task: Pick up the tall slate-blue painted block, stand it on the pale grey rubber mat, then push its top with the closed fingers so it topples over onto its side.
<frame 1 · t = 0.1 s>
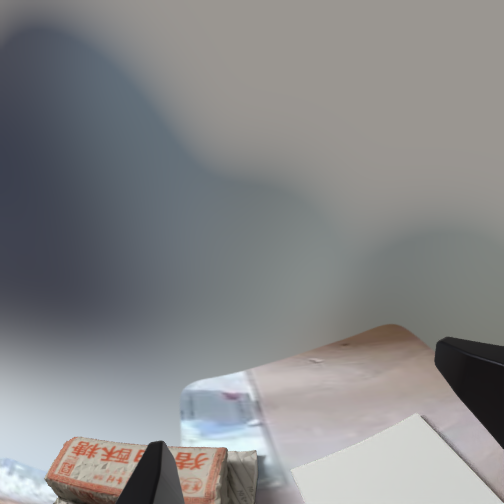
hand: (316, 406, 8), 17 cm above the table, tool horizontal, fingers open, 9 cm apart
packaged product: (154, 498, 21), on the table
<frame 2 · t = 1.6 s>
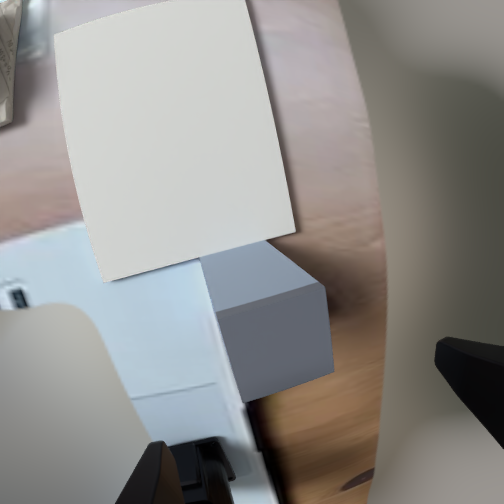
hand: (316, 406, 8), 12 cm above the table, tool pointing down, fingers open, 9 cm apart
mat: (167, 123, 17), on the table
block: (237, 276, 20), on the table
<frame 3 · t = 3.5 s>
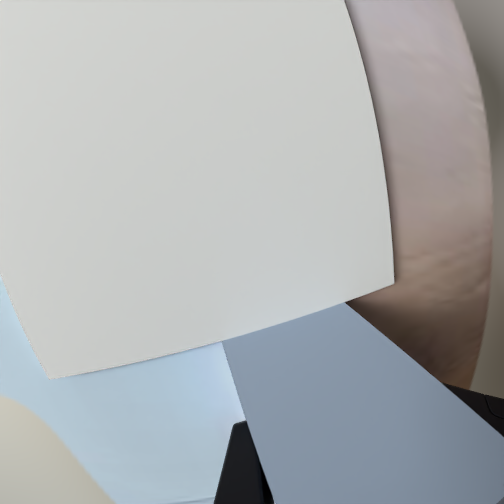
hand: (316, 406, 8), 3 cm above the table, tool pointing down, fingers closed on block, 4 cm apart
mat: (155, 69, 8), on the table
block: (289, 362, 11), on the table, touching gripper, mat
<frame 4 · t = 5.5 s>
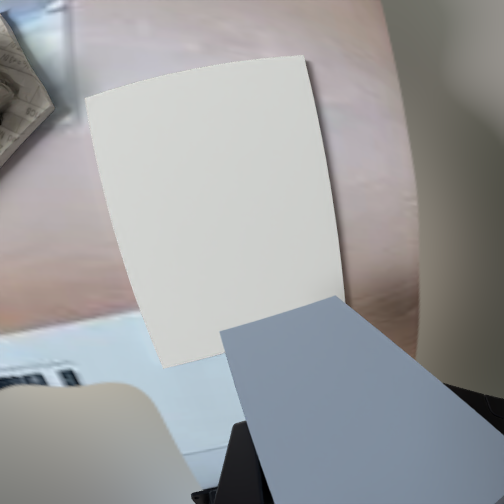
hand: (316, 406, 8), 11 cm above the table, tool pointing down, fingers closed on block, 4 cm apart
mat: (226, 213, 18), on the table
block: (289, 362, 11), point 8 cm above the table, touching gripper
when the fingers open (4 cm above the table, at t = 7.3 s): block drops 1 cm, resting on mat.
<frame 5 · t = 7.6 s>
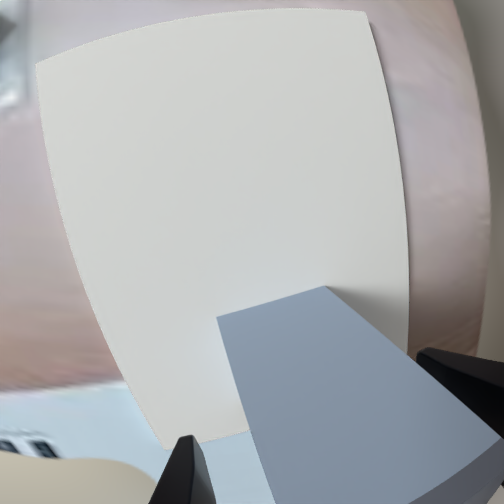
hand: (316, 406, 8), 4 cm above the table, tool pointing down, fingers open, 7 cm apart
mat: (255, 241, 11), on the table
block: (280, 347, 12), point 1 cm above the table, touching mat
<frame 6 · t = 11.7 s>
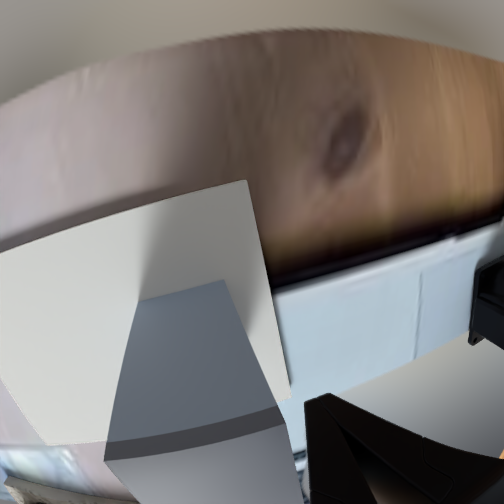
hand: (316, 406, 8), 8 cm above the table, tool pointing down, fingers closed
mat: (114, 343, 15), on the table
block: (192, 329, 15), point 1 cm above the table, touching gripper, mat
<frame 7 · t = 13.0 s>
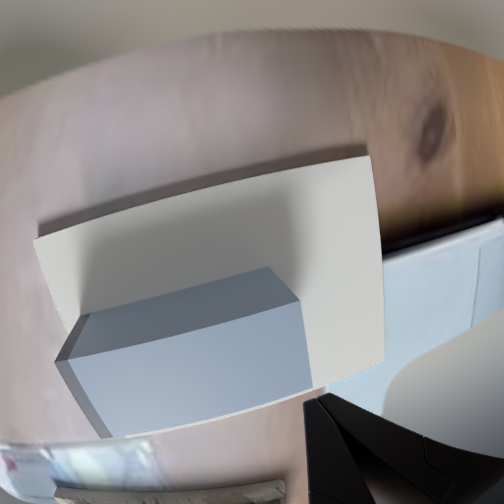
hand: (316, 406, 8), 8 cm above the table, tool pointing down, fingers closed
mat: (232, 313, 15), on the table
block: (289, 324, 13), point 3 cm above the table, tilted 90°, touching mat
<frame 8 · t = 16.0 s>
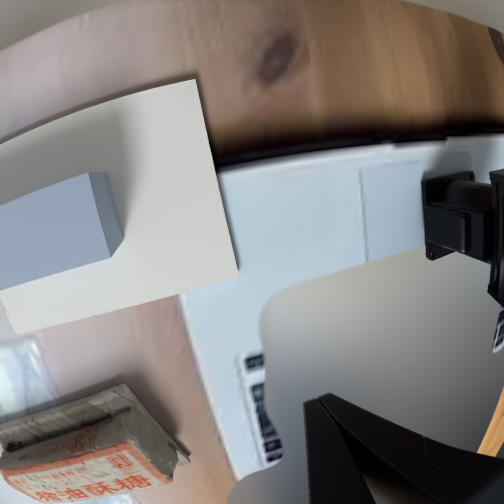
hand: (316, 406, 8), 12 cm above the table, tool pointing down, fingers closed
mat: (86, 214, 17), on the table
block: (107, 210, 15), point 3 cm above the table, tilted 90°, touching mat
packaged product: (77, 443, 22), on the table
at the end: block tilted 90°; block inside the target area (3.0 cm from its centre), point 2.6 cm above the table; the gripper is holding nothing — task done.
